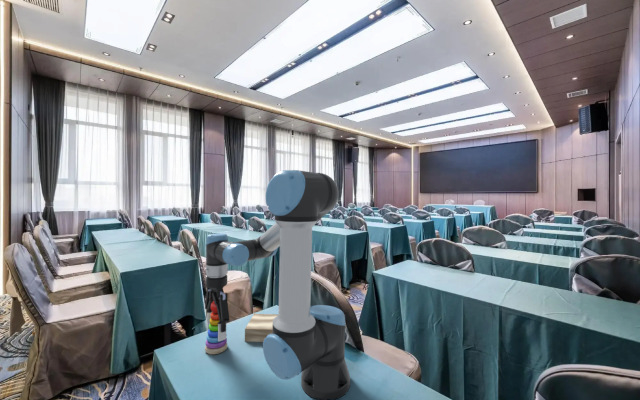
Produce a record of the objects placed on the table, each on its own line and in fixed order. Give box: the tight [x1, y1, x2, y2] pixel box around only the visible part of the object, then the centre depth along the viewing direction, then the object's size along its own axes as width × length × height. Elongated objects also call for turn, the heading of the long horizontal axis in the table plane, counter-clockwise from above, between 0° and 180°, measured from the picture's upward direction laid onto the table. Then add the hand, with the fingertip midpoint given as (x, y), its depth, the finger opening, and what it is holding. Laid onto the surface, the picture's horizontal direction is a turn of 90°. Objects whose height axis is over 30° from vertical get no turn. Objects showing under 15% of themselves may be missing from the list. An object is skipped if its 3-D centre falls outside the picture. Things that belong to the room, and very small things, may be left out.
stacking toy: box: [204, 301, 228, 355], centre depth 103 cm, size 8×8×19 cm
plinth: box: [244, 313, 279, 343], centre depth 116 cm, size 14×14×5 cm
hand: (216, 334), depth 103 cm, fingers open, 10 cm apart
